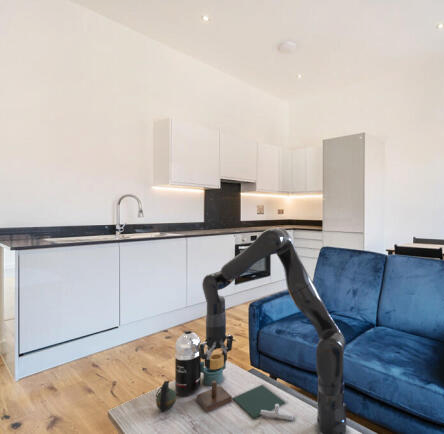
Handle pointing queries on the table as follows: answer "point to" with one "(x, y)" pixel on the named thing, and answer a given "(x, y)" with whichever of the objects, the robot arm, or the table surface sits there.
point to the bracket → (212, 374)
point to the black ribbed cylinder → (187, 364)
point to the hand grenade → (165, 397)
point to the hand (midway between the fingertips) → (216, 364)
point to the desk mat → (258, 401)
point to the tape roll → (216, 361)
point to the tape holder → (214, 397)
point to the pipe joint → (276, 413)
